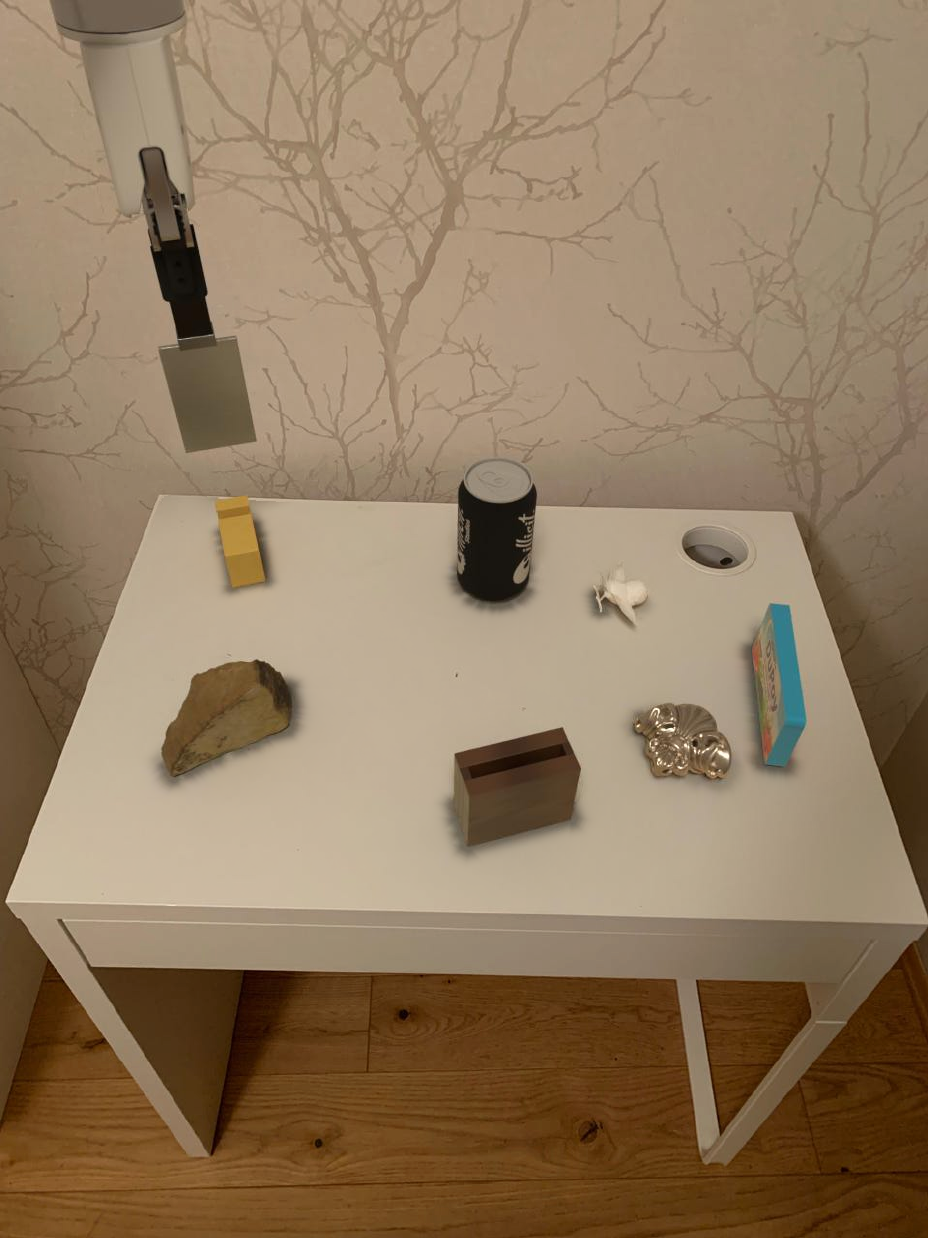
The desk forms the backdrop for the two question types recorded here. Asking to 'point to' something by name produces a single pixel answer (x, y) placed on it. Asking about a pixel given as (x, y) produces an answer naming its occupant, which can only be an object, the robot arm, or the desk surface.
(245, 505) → the butter slice
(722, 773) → the ornament
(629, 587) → the toy bird
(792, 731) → the blue product box
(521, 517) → the beverage can
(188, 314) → the knife
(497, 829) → the knife block
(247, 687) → the rock
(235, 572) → the butter block
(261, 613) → the desk surface
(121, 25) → the robot arm
